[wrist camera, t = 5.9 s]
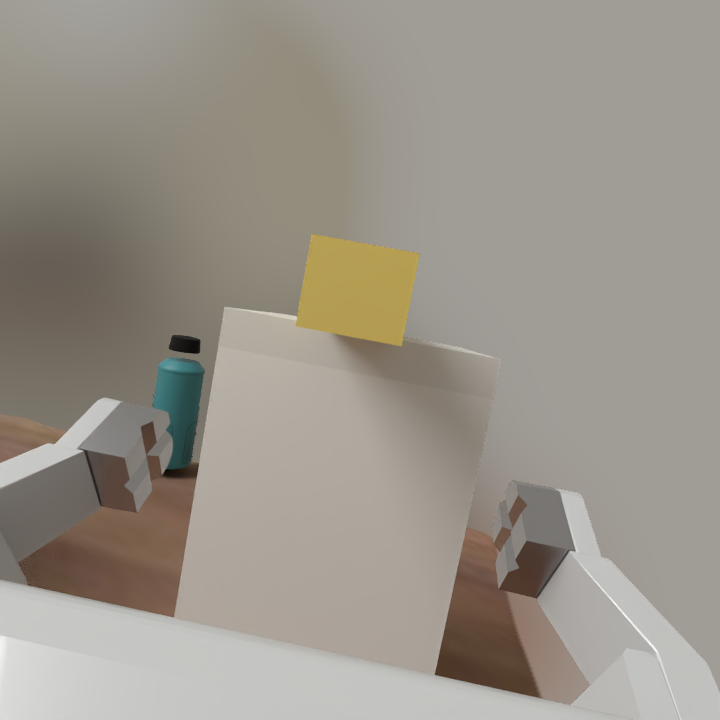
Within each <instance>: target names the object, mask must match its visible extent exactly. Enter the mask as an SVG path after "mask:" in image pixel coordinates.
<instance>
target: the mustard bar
mask: <svg viewBox="0 0 720 720" xmlns="http://www.w3.org/2000/svg"><path fill="white" fill-rule="evenodd" d="M418 259H419V253H414V252H409V251H403V250H397V249H392V248H386V247H381V246H376V245H370V244H364V243H359V242H354V241H348V240H343V239H337V238H332V237H326V236H320V235H315V234H312V236H311V242H310V247H309V253H308V259H307V264H306V270H305V276H304V281H303V287H302V293H301V298H300V304H299V310H298V316H297V321H296V326H297V327H302V328H307V329H313V330H318V331H323V332H328V333H334V334H339V335H344V336H349V337H355V338H360V339H365V340H370V341H376V342H381V343H386V344H392V345H397V346H402V342H403V336H404V331H405V326H406V321H407V315H408V311H409V306H410V301H411V295H412V290H413V285H414V280H415V275H416V270H417V265H418Z"/></svg>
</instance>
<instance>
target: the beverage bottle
mask: <svg viewBox="0 0 720 720" xmlns="http://www.w3.org/2000/svg"><path fill="white" fill-rule="evenodd" d="M169 349H170V350H174V351H178V352H184V353H194V354H197V353H200V340H199V339H197V338H193V337H189V336H182V335H173V336H172V338H171V342H170V345H169ZM204 373H205V370H204V368H203V367H202V366H201V364H200V363H199V362H198V361H195V360H190V359H184V358H174V357H171V358H167V359H165V360H164V361H163V362H161V363H160V364H159V365H158V376H157V383H156V390H155V396H154V402H153V408H154V409H159V410H163V411H166V412H168V414H169V419H170V424H169V426H168V427H167V429H166V431H167V432H168V433H169V434H170V435H171V436H172V440H173V450H172V455H171V458H170V461H169V464H168V466H167V468H166V469H180V468H184V467H186V466H188V465H189V464H190V462H191V458H192V451H193V444H194V438H195V435H196V434H195V432H196V425H197V418H198V412H199V403H200V396H201V389H202V383H203V375H204Z"/></svg>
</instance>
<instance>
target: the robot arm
mask: <svg viewBox="0 0 720 720" xmlns="http://www.w3.org/2000/svg"><path fill="white" fill-rule="evenodd" d="M169 424H170V419H169V414H168V412H166V411H163V410H159V409H154V408H150V407H146V406H141V405H136V404H132V403H128V402H122V401H117V400H113V399H109V398H103V399H100V400H98V401H97V402H96V403H95V404H94V405H93V406H92V407H91V408H90V409H89V410H88V411H87V412H86V413H85V414H84V415H83V416H82V417H81V418H80V419H79V420H78V421H77V422H76V423H75V424H74V425H73V426H72V427H71V428H70V429H69V430H68V431H67V432H66V433H65V434H64V435H63V436H62V437H61V438H60V439H59V440H58V441H57V443H56V444H55V445H54V444H49V443H48V444H45V445H43V446H41V447H38V448H36V449H33V450H31V451H29V452H26V453H24V454H21V455H19V456H16V457H14V458H12V459H9V460H7V461H4V462H2V463H0V720H720V692H719V690H718V687H717V685H716V682H715V680H714V678H713V676H712V673H711V671H710V669H709V666H708V664H707V663H706V662H705V661H704V660H703V658H702V657H701V656H700V655H699V654H698V653H697V652H696V651H695V650H694V649H693V648H692V647H691V646H690V645H689V644H688V643H687V642H686V640H685V639H684V638H683V637H682V636H681V635H680V634H679V633H678V632H677V631H676V630H675V629H674V628H673V627H672V626H671V625H670V623H669V622H668V621H667V620H666V619H665V618H664V617H663V616H662V615H661V614H660V613H659V612H658V611H657V610H656V609H655V608H654V606H653V605H652V604H651V603H650V602H649V601H648V600H647V599H646V598H645V597H644V596H643V595H642V594H641V593H640V591H638V589H637V588H636V587H635V586H634V585H633V584H632V583H631V582H630V581H629V580H628V579H627V578H626V577H625V575H624V574H623V573H622V572H621V571H620V570H619V569H618V568H617V567H616V566H615V565H614V564H613V563H612V562H611V561H610V560H609V559H607V558H602V555H601V552H600V549H599V546H598V543H597V540H596V537H595V534H594V531H593V528H592V525H591V522H590V519H589V516H588V513H587V510H586V507H585V503H584V500H583V497H582V496H581V495H580V494H579V493H576V492H571V491H565V490H560V489H554V488H550V487H545V486H539V485H534V484H529V483H524V482H518V481H513V480H512V481H511V482H510V483H509V484H508V486H507V488H506V490H505V494H506V500H505V501H503V502H501V503H499V505H498V507H497V509H496V512H495V515H494V521H493V543H494V545H495V546H496V548H497V549H498V550H499V552H500V554H499V556H498V557H497V559H496V561H495V562H496V570H497V579H498V587H499V589H500V590H504V591H508V592H513V593H517V594H521V595H525V596H529V597H534V598H537V602H538V603H539V605H540V607H541V608H542V610H543V611H544V613H545V615H546V616H547V618H548V620H549V621H550V623H551V624H552V626H553V627H554V629H555V631H556V632H557V634H558V636H559V637H560V639H561V640H562V642H563V644H564V645H565V647H566V648H567V650H568V652H569V653H570V655H571V656H572V658H573V659H574V661H575V663H576V664H577V666H578V667H579V669H580V671H581V672H582V674H583V675H584V677H585V679H586V680H587V682H588V683H589V687H588V688H587V689H586V690H585V691H584V692H583V693H582V694H581V695H580V696H579V697H578V698H577V699H576V700H575V701H574V702H573V703H572V704H571V705H568V704H564V703H560V702H555V701H550V700H546V699H542V698H537V697H532V696H528V695H523V694H519V693H514V692H510V691H505V690H501V689H496V688H492V687H487V686H482V685H478V684H473V683H469V682H464V681H460V680H455V679H451V678H446V677H442V676H437V675H433V674H428V673H423V672H419V671H414V670H410V669H405V668H401V667H396V666H392V665H387V664H383V663H378V662H373V661H369V660H364V659H360V658H355V657H351V656H346V655H342V654H337V653H333V652H328V651H324V650H319V649H314V648H310V647H305V646H301V645H296V644H292V643H287V642H283V641H278V640H274V639H269V638H265V637H260V636H256V635H251V634H246V633H242V632H237V631H233V630H228V629H224V628H219V627H214V626H210V625H205V624H201V623H196V622H192V621H187V620H183V619H178V618H173V617H169V616H164V615H160V614H155V613H151V612H146V611H141V610H137V609H132V608H128V607H123V606H119V605H114V604H109V603H105V602H100V601H96V600H91V599H87V598H82V597H78V596H73V595H69V594H64V593H59V592H55V591H50V590H46V589H41V588H37V587H32V586H28V585H27V580H26V578H25V576H24V574H23V572H22V570H21V568H20V566H19V564H18V563H19V562H20V561H22V560H23V559H25V558H26V557H28V556H29V555H31V554H32V553H34V552H35V551H37V550H38V549H40V548H41V547H43V546H45V545H46V544H48V543H49V542H51V541H52V540H54V539H55V538H57V537H58V536H60V535H61V534H63V533H64V532H66V531H67V530H69V529H70V528H72V527H73V526H75V525H76V524H78V523H79V522H81V521H83V520H84V519H86V518H87V517H89V516H90V515H92V514H93V513H95V512H96V511H98V510H99V509H101V506H102V507H108V508H113V509H119V510H124V511H130V512H135V513H137V512H138V511H139V509H140V508H141V506H142V505H143V503H144V502H145V500H146V499H147V497H148V496H149V494H150V493H151V491H152V485H151V481H152V480H154V479H156V478H157V477H159V476H161V475H162V474H163V473H164V471H165V469H166V468H167V466H168V464H169V461H170V458H171V455H172V450H173V440H172V436H171V435H170V434H169V433H168V432H167V431H166V429H167V427H168V426H169Z"/></svg>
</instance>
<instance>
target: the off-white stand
mask: <svg viewBox="0 0 720 720" xmlns="http://www.w3.org/2000/svg"><path fill="white" fill-rule="evenodd" d="M296 321H297V316H291V315H286V314H277V313H270V312H262V311H253V310H245V309H237V308H229V307H225V309H224V315H223V321H222V328H221V334H220V339H219V345H218V352H217V358H216V364H215V371H214V376H213V383H212V389H211V394H210V401H209V407H208V413H207V419H206V425H205V431H204V437H203V444H202V450H201V457H200V462H199V468H198V474H197V480H196V487H195V493H194V499H193V505H192V511H191V517H190V523H189V530H188V536H187V542H186V548H185V554H184V560H183V566H182V573H181V579H180V585H179V591H178V597H177V603H176V609H175V615H174V618H178V619H183V620H187V621H192V622H196V623H201V624H205V625H210V626H214V627H219V628H224V629H228V630H233V631H237V632H242V633H246V634H251V635H256V636H260V637H265V638H269V639H274V640H278V641H283V642H287V643H292V644H296V645H301V646H305V647H310V648H314V649H319V650H324V651H328V652H333V653H337V654H342V655H346V656H351V657H355V658H360V659H364V660H369V661H373V662H378V663H383V664H387V665H392V666H396V667H401V668H405V669H410V670H414V671H419V672H423V673H428V674H433V675H435V671H436V666H437V661H438V657H439V652H440V647H441V643H442V638H443V633H444V629H445V624H446V619H447V615H448V610H449V605H450V601H451V596H452V591H453V587H454V582H455V577H456V573H457V568H458V563H459V559H460V554H461V549H462V545H463V540H464V535H465V531H466V526H467V521H468V517H469V512H470V507H471V502H472V498H473V493H474V488H475V484H476V479H477V474H478V469H479V465H480V460H481V455H482V451H483V446H484V442H485V437H486V432H487V427H488V423H489V418H490V414H491V409H492V404H493V400H494V394H495V390H496V386H497V381H498V376H499V372H500V367H501V362H502V359H498V358H494V357H491V356H488V355H484V354H481V353H477V352H474V351H470V350H467V349H463V348H460V347H455V346H450V345H444V344H439V343H434V342H429V341H423V340H418V339H413V338H408V337H403V342H402V346H397V345H392V344H386V343H381V342H376V341H370V340H365V339H360V338H355V337H349V336H344V335H339V334H334V333H328V332H323V331H318V330H313V329H307V328H302V327H297V326H296Z"/></svg>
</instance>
